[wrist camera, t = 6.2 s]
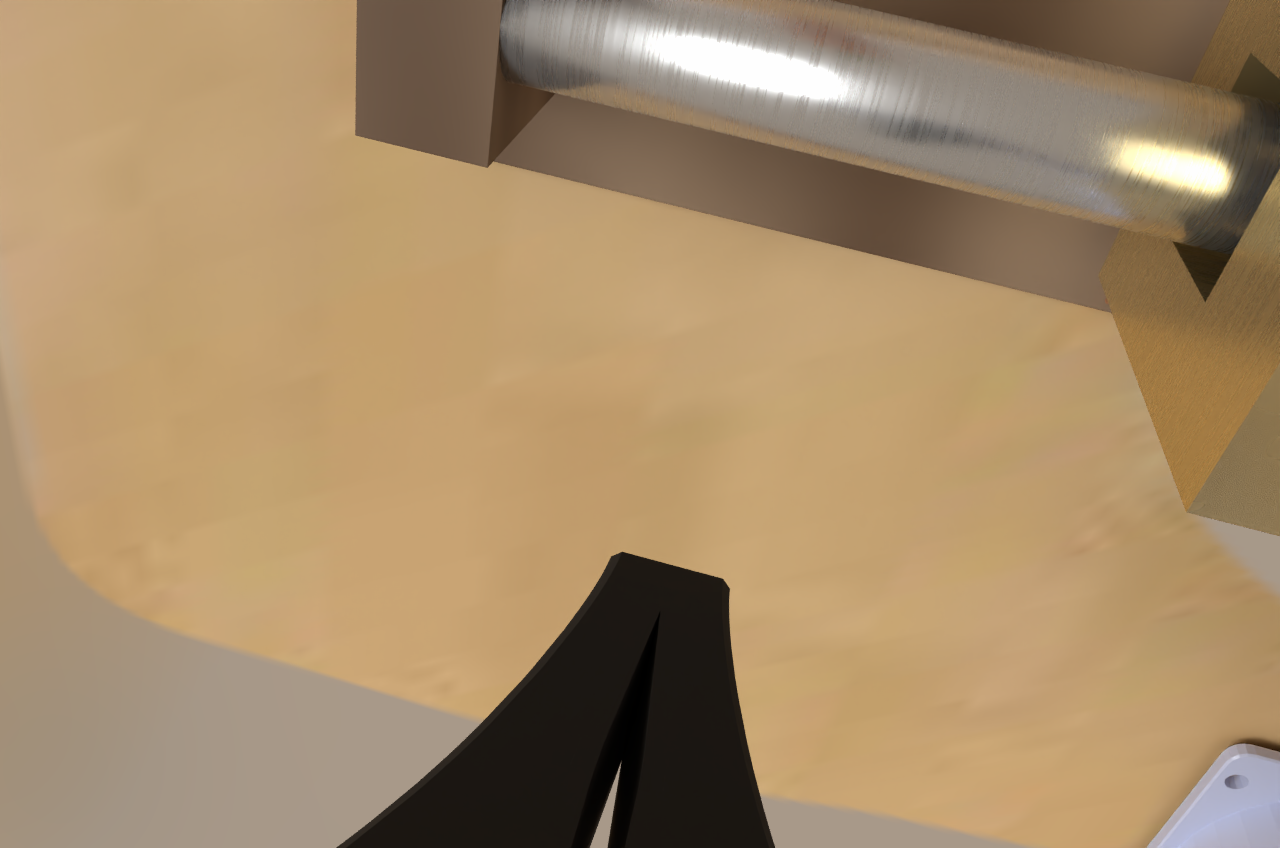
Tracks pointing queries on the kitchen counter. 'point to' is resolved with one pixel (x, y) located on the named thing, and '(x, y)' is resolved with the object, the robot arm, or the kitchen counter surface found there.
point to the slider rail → (758, 172)
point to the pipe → (917, 104)
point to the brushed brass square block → (1213, 318)
